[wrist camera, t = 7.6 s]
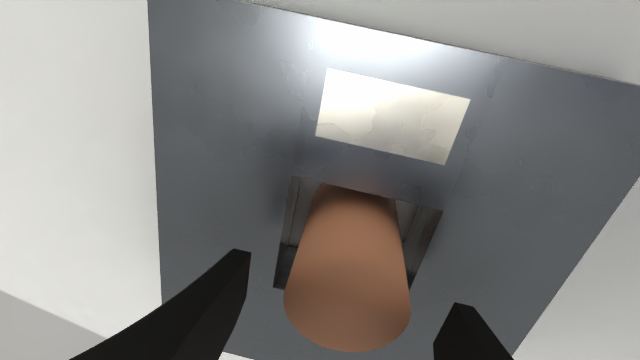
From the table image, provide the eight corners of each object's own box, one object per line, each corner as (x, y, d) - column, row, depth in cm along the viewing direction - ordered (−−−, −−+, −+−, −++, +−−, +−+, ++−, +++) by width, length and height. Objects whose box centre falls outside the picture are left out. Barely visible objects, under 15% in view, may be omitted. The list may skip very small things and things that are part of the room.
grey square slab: (621, 80, 12) (698, 98, 9) (455, 359, 19) (470, 417, 16) (194, -10, 12) (144, -19, 10) (191, 293, 20) (162, 338, 17)
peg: (407, 184, 15) (430, 277, 9) (382, 253, 16) (388, 364, 11) (321, 163, 15) (294, 243, 9) (305, 233, 17) (275, 334, 11)
